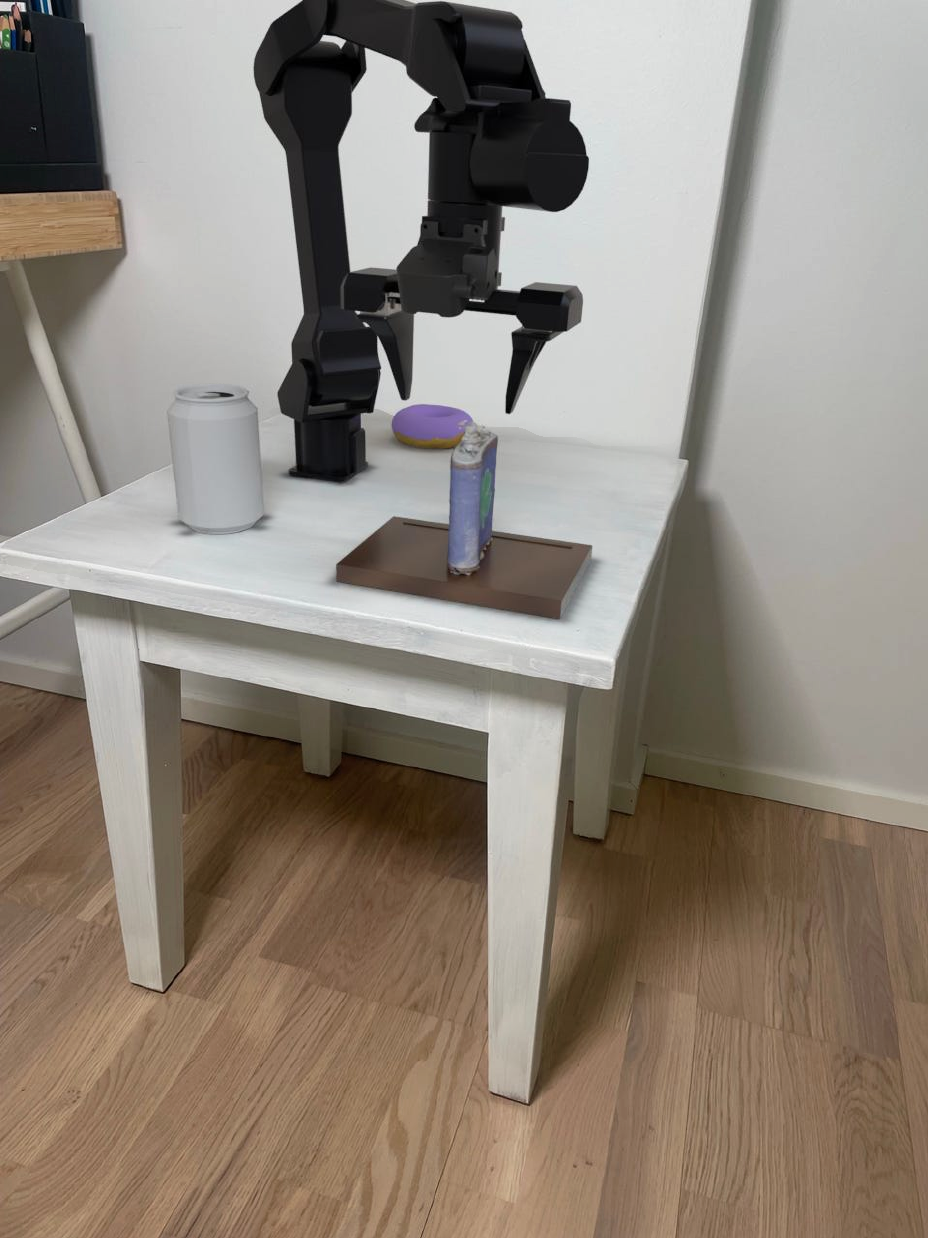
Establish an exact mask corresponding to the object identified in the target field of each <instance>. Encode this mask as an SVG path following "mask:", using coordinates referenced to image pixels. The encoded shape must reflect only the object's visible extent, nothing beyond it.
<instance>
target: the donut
mask: <svg viewBox="0 0 928 1238" xmlns="http://www.w3.org/2000/svg"><path fill="white" fill-rule="evenodd" d="M465 420H467V421H468V422H467V423H465V424H464V426H462V427H461V429H460V430H459V428H458V427H459V426H458V424H459V423H460V422H462V421H465ZM470 422H474V420H473V418H472V416H471V415H470V414H469V413H468V412H466V411H464V410H462V409H460V408H458V407H452V406H447V405H441V404H427V403H426V404H425V403H420V404H419V403H418V404H412V405H409V406H407V407H403V408H402V409H400V410H399V411H397V412H396V413H395V414H394V416H393V417H392V419H391V429H392V433H393V435H394V437H396V439H397V440H398V441H400V442H401V443H403V444H406V445H409V446H411V447H414V448H415V447H416V448H421V449H432V450H436V449H437V450H439V449H450V448H451V449H452V448H455V446H456V445H457V444H458V443H459V442H460V441H461V439H462V437H463V434H464V433H465V430H464V427H465V426H467V424H469V423H470Z"/></svg>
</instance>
